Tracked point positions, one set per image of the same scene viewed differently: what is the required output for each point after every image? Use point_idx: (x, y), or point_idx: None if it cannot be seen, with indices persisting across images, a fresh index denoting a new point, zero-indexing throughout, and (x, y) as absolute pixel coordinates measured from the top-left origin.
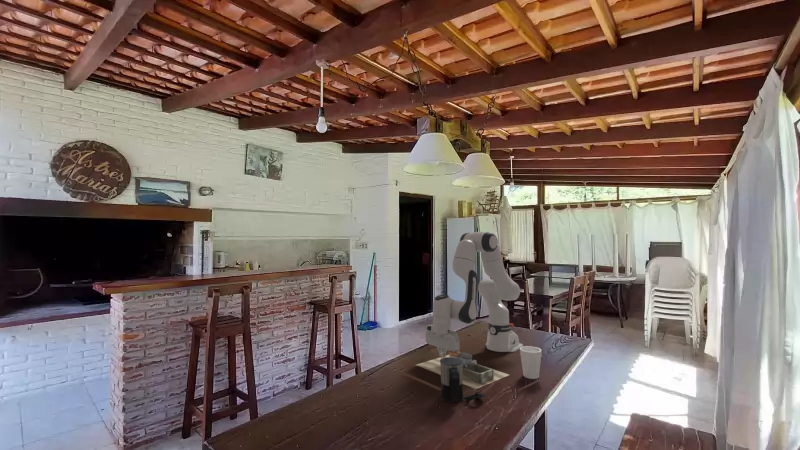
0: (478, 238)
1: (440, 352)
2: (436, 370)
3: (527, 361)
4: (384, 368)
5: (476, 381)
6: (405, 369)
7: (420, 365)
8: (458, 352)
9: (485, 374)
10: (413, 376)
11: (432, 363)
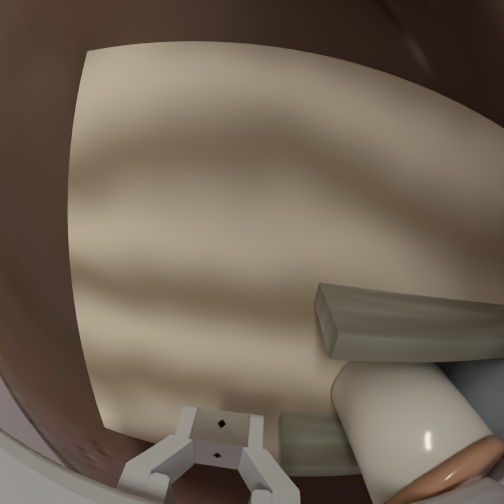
0: None
1: (192, 461)
2: (272, 446)
3: None
4: (69, 456)
5: None
6: (116, 452)
7: (129, 428)
8: (478, 471)
9: None
10: (213, 489)
11: (144, 371)
